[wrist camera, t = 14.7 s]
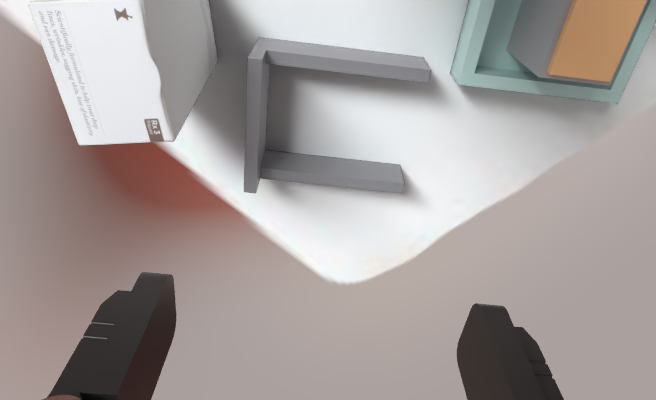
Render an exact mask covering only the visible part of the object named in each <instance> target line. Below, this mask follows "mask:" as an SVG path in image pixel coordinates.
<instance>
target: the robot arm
mask: <svg viewBox="0 0 656 400" xmlns="http://www.w3.org/2000/svg"><path fill="white" fill-rule="evenodd" d="M175 327H176V306H175V292H174V279H173V276H172V275H169V274H159V273H148V272H142V273H141V274H140V276H139V278H138V279H137V281H136V283H135V285H134V287H133V289H132V291H131V292H129V291H120V290H118V291H117V292H115V293H114V294H113V295H112V296H110V297H109V298H108V299H107V300H106V301H104V302H103V303H102V304H101V305H100V307H99V309H98V311H97V312H96V314H95V316H94V318H93V320H92V323H91V325H89V327H88V328H87V330H86V332H85V334H84V337H83V339H81V341H80V342H79V344H78V346H77V348H76V350H75V351H74V353H73V355H72V356H71V358H70V360H69V362H68V363H67V365H66V367H65V369H64V370H63V372H62V374H61V376H60V377H59V379H58V381H57V383H56V385H55V386H54V388H53V390H52V391H51V393H50V394H49V396H48V397H47V398H45V399H42V400H151V398H152V395H153V393H154V390H155V387H156V384H157V381H158V379H159V376H160V373H161V370H162V367H163V365H164V362H165V359H166V357H167V354H168V351H169V348H170V346H171V343H172V340H173V337H174V332H175ZM457 362H458V367H459V370H460V374H461V378H462V381H463V385H464V388H465V392H466V396H467V399H468V400H564V399H563V397H562V395H561V393H560V391H559V388H558V386H557V384H556V382H555V380H554V379H552V374H551V371H550V369H549V367H548V365H547V364H545V359H544V357H543V354H542V352H541V350H540V348H539V346H538V344H537V342H536V341H535V340H534V339H533V338H532V337H531V336H530V335H529V334H528V333H527V332H526V331H525V330H524V328H522V327H514V326H513V323H512V321H511V319H510V317H509V314H508V312H507V310H506V308H505V307H503V306H496V305H486V304H474V305H473V306H472V308H471V310H470V313H469V316H468V318H467V321H466V323H465V326H464V329H463V331H462V334H461V337H460V339H459V342H458V347H457Z"/></svg>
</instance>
